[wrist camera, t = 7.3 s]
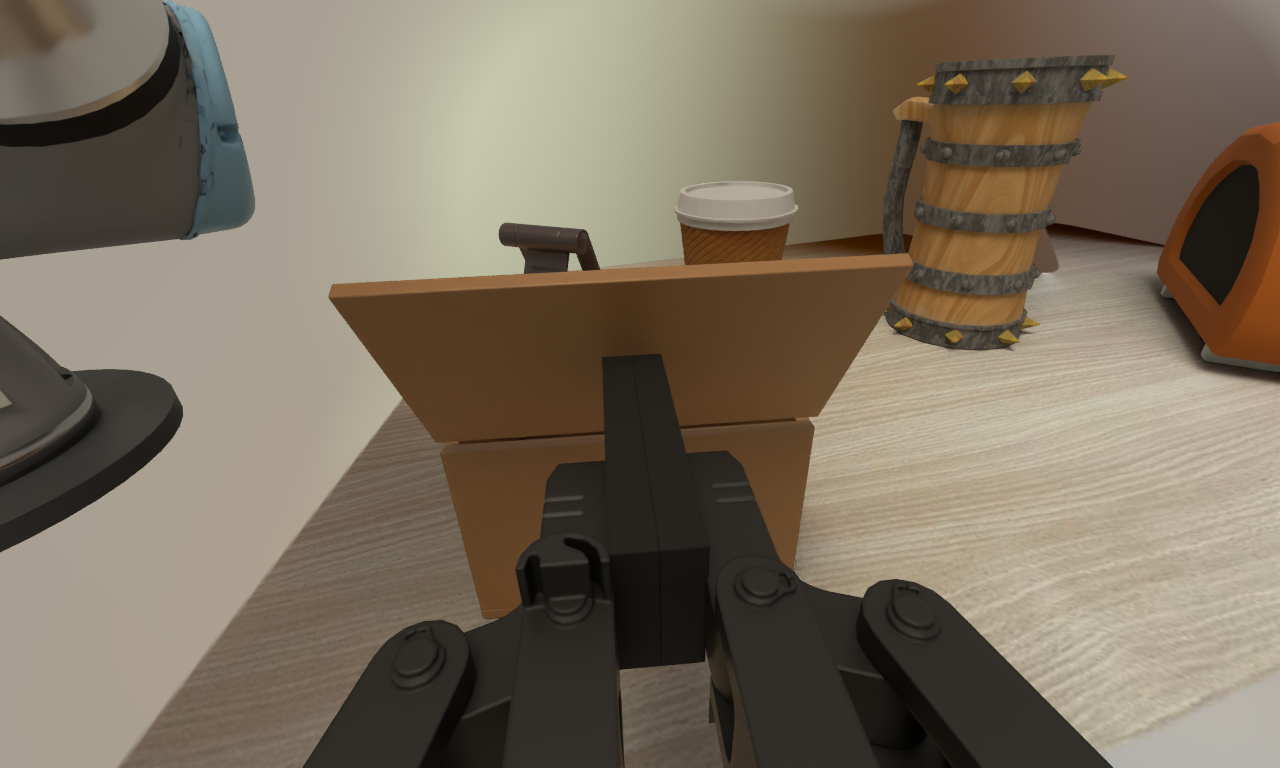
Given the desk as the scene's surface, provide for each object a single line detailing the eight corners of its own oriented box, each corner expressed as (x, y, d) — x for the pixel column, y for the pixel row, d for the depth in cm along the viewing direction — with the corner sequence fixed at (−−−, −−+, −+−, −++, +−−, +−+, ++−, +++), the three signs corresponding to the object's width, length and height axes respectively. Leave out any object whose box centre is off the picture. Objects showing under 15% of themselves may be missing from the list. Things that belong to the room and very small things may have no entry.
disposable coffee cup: (714, 366, 42) (720, 207, 36) (655, 326, 49) (652, 188, 43) (808, 340, 45) (827, 191, 39) (739, 306, 53) (747, 176, 47)
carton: (718, 409, 36) (724, 275, 32) (790, 592, 23) (818, 407, 18) (523, 423, 35) (501, 287, 31) (483, 619, 22) (434, 434, 18)
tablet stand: (619, 299, 55) (614, 216, 51) (579, 327, 49) (570, 235, 45) (549, 289, 59) (539, 211, 55) (503, 313, 53) (488, 228, 49)
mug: (952, 368, 40) (1040, 55, 30) (814, 296, 54) (844, 68, 45) (1076, 340, 44) (1190, 51, 34) (916, 280, 58) (964, 65, 48)
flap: (909, 252, 12) (915, 265, 12) (815, 406, 19) (818, 416, 18) (331, 283, 12) (327, 297, 11) (437, 432, 18) (435, 443, 18)
